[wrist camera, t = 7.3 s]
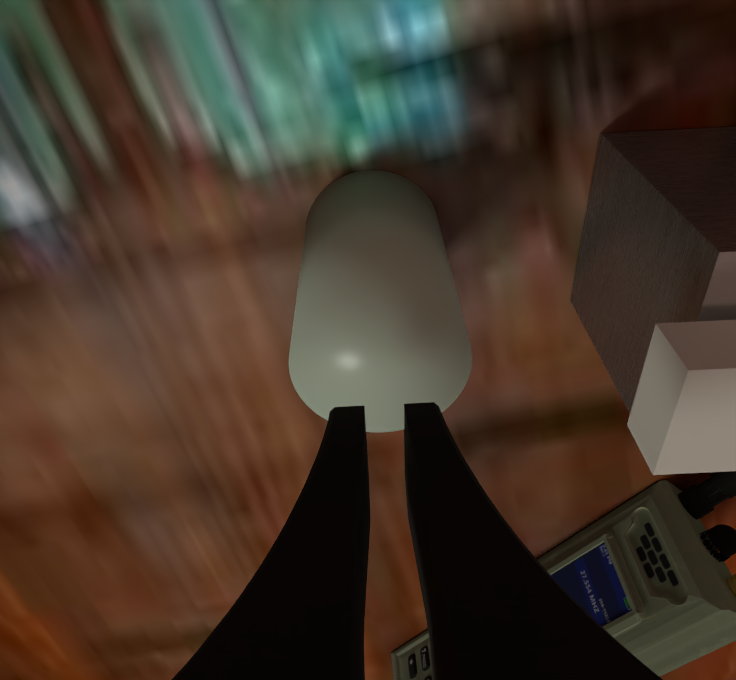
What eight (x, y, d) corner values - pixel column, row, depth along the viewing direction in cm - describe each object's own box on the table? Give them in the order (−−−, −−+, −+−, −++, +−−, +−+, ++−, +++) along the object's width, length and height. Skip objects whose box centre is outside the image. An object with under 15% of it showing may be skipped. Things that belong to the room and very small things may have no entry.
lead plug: (312, 293, 22) (298, 435, 16) (298, 173, 19) (277, 293, 14) (436, 287, 22) (467, 428, 16) (440, 166, 19) (477, 283, 14)
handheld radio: (381, 647, 37) (766, 394, 26) (422, 661, 38) (805, 426, 27) (390, 779, 32) (881, 533, 20) (438, 790, 33) (923, 565, 22)
